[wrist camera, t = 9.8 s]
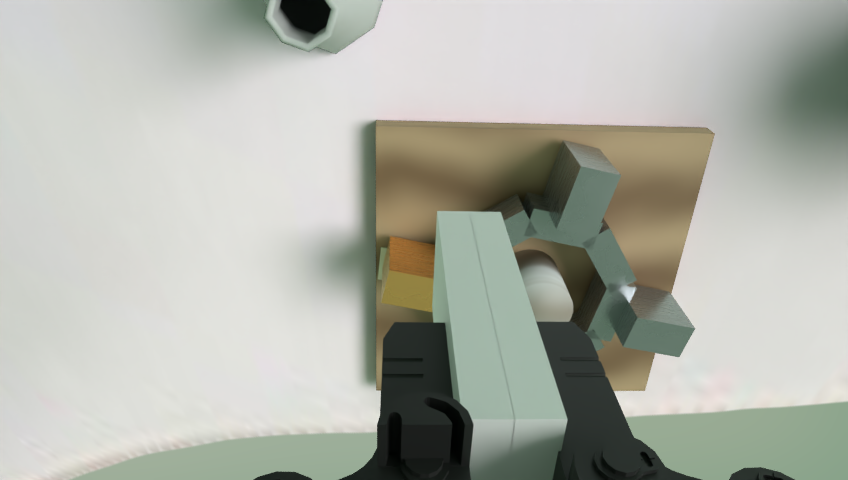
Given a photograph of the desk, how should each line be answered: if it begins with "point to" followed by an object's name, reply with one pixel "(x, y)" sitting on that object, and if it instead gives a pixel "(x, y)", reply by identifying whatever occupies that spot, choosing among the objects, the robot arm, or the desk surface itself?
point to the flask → (321, 22)
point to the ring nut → (573, 225)
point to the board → (529, 172)
